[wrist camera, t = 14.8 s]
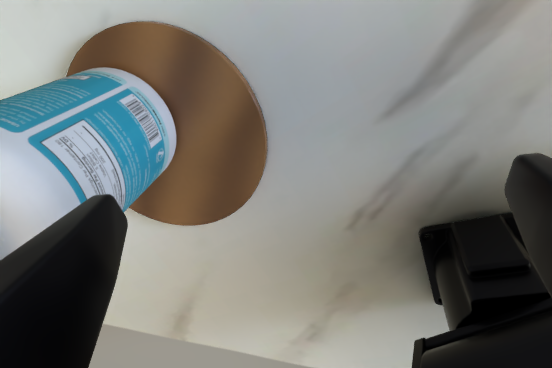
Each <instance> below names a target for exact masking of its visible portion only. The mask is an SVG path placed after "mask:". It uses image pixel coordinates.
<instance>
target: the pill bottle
mask: <svg viewBox="0 0 552 368" xmlns="http://www.w3.org/2000/svg"><path fill="white" fill-rule="evenodd" d="M175 149H176V129H175V125H174V121H173V118H172V115H171V113H170V111H169V109H168V107H167V106H166V104H165V102H164V101H163V100H162V98H161V97H160V96H159V95H158V93H157V92H156V91H155V90H154V89H153V88H152V87H151V86H149V85H148V84H147V83H146V82H144V81H143V80H141V79H140V78H138V77H136V76H135V75H133V74H130V73H128V72H126V71H123V70H119V69H115V68H107V67H102V68H92V69H88V70H85V71H82V72H79V73H76V74H74V75H71V76H68V77H65V78H62V79H59V80H56V81H53V82H51V83H48V84H45V85H42V86H39V87H37V88H34V89H31V90H29V91H26V92H23V93H20V94H17V95H14V96H11V97H9V98H6V99H3V100H0V260H1V259H3V258H4V257H6V256H7V255H9V254H10V253H11V252H13V251H14V250H16V249H17V248H19V247H20V246H22V245H23V244H24V243H26V242H27V241H29V240H30V239H32V238H33V237H34V236H36V235H37V234H39V233H40V232H42V231H43V230H44V229H46V228H47V227H49V226H50V225H52V224H53V223H54V222H56V221H57V220H59V219H60V218H62V217H63V216H64V215H66V214H67V213H69V212H70V211H72V210H73V209H74V208H76V207H77V206H79V205H80V204H82V203H83V202H84V201H86V200H87V199H89V198H90V197H92V196H94V195H101V194H111V195H112V196H114V198H115V199H116V201H117V202H118V204H119V206H120V208H121V209H122V211H123V212H124V211H125V210H126V209H127V208H128V207H129V206H130V205H131V204H132V203H133V202H134V201H135V200H136V199H137V198H138V197H139V196H140V195H141V194H142V193H143V192H144V191H145V190H146V189H147V188H148V187H149V186H150V185H151V184H152V183H153V182H154V181H155V180H156V179H157V178H158V176H159V175H160V174H161V173H162V172H163V171H164V170H165V169H166V168H167V167H168V165H169V164H170V162H171V160H172V158H173V156H174V153H175Z"/></svg>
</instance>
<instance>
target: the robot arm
mask: <svg viewBox="0 0 552 368" xmlns="http://www.w3.org/2000/svg"><path fill="white" fill-rule="evenodd" d="M505 195H506V198H507V201H508V203H509V206H510V208H511V211H512V213H508V214H502V215H494V216H488V217H482V218H476V219H470V220H464V221H458V222H454V223H448V224H442V225H436V226H430V227H425V228H422V229H421V230H420V231H419V238H420V242H421V246H422V251H423V255H424V259H425V263H426V267H427V272H428V276H429V280H430V284H431V289H432V293H433V297H434V301H435V303H436V304H438V305H443V307H444V311H445V315H446V318H447V322H448V326H449V330H450V331H448V332H445V333H442V334H439V335H436V336H433V337H430V338H427V339H425V338H421V339H418V340H415V342H414V352H413V361H412V368H552V158H550V157H548V156H545V155H543V154H539V153H534V154H523V155H519V156H517V157H516V158H515V159H514V161H513V163H512V166H511V169H510V172H509V175H508V178H507V181H506V184H505ZM127 227H128V223H127V218H126V216H125V214H124V213H123V211H122V209H121V208H120V206H119V204H118V202H117V201H116V199H115V198H114V196H112V195H111V194H101V195H94V196H92V197H90V198H89V199H87V200H86V201H84V202H83V203H82V204H80V205H79V206H77V207H76V208H74V209H73V210H72V211H70V212H69V213H67V214H66V215H64V216H63V217H62V218H60V219H59V220H57V221H56V222H54V223H53V224H52V225H50V226H49V227H47V228H46V229H44V230H43V231H42V232H40V233H39V234H37V235H36V236H34V237H33V238H32V239H30V240H29V241H27V242H26V243H24V244H23V245H22V246H20V247H19V248H17V249H16V250H14V251H13V252H11V253H10V254H9V255H7V256H6V257H4V258H3V259H1V260H0V368H88V367H89V364H90V361H91V358H92V354H93V351H94V348H95V345H96V342H97V339H98V336H99V333H100V330H101V327H102V324H103V321H104V318H105V315H106V312H107V309H108V305H109V302H110V299H111V296H112V293H113V290H114V287H115V283H116V279H117V275H118V270H119V266H120V261H121V256H122V251H123V247H124V242H125V237H126V232H127ZM426 234H430V236H428V237H425V235H426Z"/></svg>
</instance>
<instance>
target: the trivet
mask: <svg viewBox="0 0 552 368" xmlns="http://www.w3.org/2000/svg"><path fill="white" fill-rule="evenodd" d="M102 67H107V68H115V69H119V70H123V71H126V72H128V73H130V74H133V75H135V76H136V77H138V78H140V79H141V80H143V81H144V82H146V83H147V84H148V85H149V86H151V87H152V88H153V89H154V90H155V91H156V92H157V93H158V95H159V96H160V97H161V98H162V100H163V101H164V102H165V104H166V106H167V107H168V109H169V111H170V113H171V115H172V118H173V121H174V125H175V129H176V149H175V153H174V156H173V158H172V160H171V162H170V164H169V165H168V167H167V168H166V169H165V170H164V171H163V172H162V173H161V174H160V175H159V176H158V178H157V179H156V180H155V181H154V182H153V183H152V184H151V185H150V186H149V187H148V188H147V189H146V190H145V191H144V192H143V193H142V194H141V195H140V196H139V197H138V198H137V199H136V200H135V201H134V202H133V203H132V204H131V205H130V206H129V208H130V209H132V210H134V211H136V212H138V213H140V214H142V215H144V216H146V217H149V218H151V219H154V220H157V221H160V222H165V223H169V224H175V225H202V224H208V223H211V222H215V221H218V220H220V219H223V218H225V217H227V216H229V215H231V214H232V213H234V212H235V211H237V210H238V209H239V208H240V207H242V206H243V205H244V204H245V203H246V202H247V200H248V199H249V198H250V197H251V196H252V194H253V192H254V191H255V189H256V188H257V186H258V184H259V181H260V179H261V177H262V175H263V171H264V168H265V164H266V157H267V133H266V127H265V121H264V118H263V115H262V111H261V108H260V106H259V103H258V101H257V99H256V97H255V94H254V93H253V91H252V89H251V87H250V86H249V84H248V82H247V81H246V79H245V78H244V77H243V75H242V74H241V73H240V71H239V70H238V69H237V67H236V66H235V65H234V64H233V63H232V62H231V61H230V60H229V59H228V58H227V57H226V56H225V55H224V54H223V53H221V52H220V51H219V50H218V49H217V48H215V47H214V46H213V45H212V44H210V43H208V42H207V41H205V40H204V39H202V38H200V37H199V36H197V35H195V34H193V33H191V32H189V31H186V30H184V29H182V28H179V27H175V26H172V25H169V24H164V23H158V22H147V21H137V22H130V23H124V24H119V25H116V26H113V27H110V28H107V29H105V30H103V31H102V32H100V33H98V34H96V35H95V36H93V37H92V38H91V39H90V40H88V41H87V42H86V43H85V44H84V45H83V46H82V48H81V49H80V50H79V51H78V52H77V54H76V56H75V57H74V59H73V61H72V62H71V65H70V67H69V70H68V73H67V75H66V77H68V76H71V75H74V74H76V73H79V72H82V71H85V70H88V69H92V68H102Z"/></svg>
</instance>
